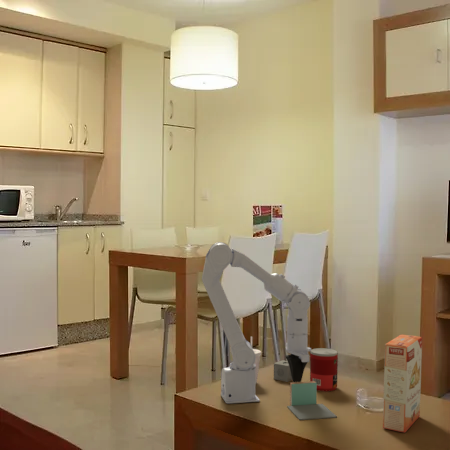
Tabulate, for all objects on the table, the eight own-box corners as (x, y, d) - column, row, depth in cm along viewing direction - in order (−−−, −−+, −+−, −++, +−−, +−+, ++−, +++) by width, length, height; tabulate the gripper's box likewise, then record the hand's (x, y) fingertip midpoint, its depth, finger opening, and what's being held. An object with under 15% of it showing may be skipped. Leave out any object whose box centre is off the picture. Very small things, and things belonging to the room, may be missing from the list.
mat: (299, 420, 151) (299, 419, 151) (287, 407, 160) (287, 406, 160) (336, 417, 153) (336, 416, 153) (322, 404, 163) (322, 403, 163)
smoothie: (263, 380, 184) (264, 335, 184) (257, 386, 178) (258, 340, 178) (243, 378, 186) (244, 334, 186) (237, 384, 180) (237, 338, 180)
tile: (291, 406, 161) (292, 384, 161) (289, 404, 163) (290, 382, 163) (316, 404, 163) (316, 382, 163) (314, 402, 164) (314, 381, 164)
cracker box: (407, 434, 142) (408, 346, 141) (381, 429, 145) (383, 343, 144) (421, 416, 154) (423, 335, 153) (398, 412, 157) (399, 333, 156)
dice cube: (295, 378, 188) (296, 362, 187) (287, 382, 184) (287, 365, 183) (282, 375, 191) (282, 360, 190) (273, 379, 187) (273, 363, 187)
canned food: (339, 392, 174) (339, 354, 174) (311, 391, 174) (312, 354, 174) (335, 384, 182) (335, 348, 181) (308, 383, 182) (308, 347, 181)
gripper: (320, 338, 161) (319, 388, 162) (302, 327, 175) (301, 373, 176) (295, 339, 160) (294, 389, 160) (279, 328, 174) (278, 374, 174)
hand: (296, 381), depth 168 cm, fingers closed
